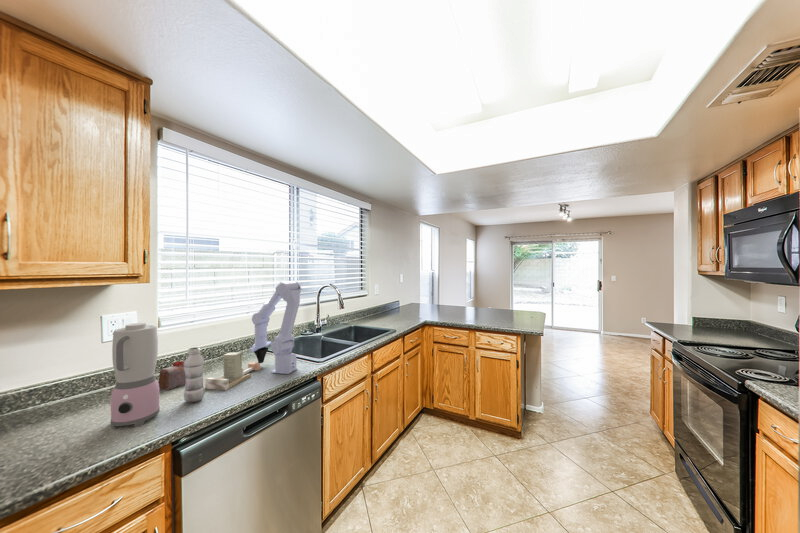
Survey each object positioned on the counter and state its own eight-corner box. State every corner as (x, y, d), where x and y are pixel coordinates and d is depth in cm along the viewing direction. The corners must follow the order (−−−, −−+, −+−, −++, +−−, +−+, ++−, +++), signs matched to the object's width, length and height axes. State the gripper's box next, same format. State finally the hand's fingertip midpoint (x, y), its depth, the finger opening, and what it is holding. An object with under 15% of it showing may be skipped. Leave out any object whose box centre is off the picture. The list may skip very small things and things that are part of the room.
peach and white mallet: (260, 368, 147) (260, 360, 147) (244, 377, 136) (244, 368, 136) (251, 368, 148) (251, 360, 148) (234, 376, 137) (234, 367, 137)
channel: (251, 376, 137) (251, 368, 137) (225, 390, 122) (225, 380, 122) (232, 375, 139) (232, 366, 139) (205, 388, 124) (205, 378, 124)
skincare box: (242, 378, 135) (242, 352, 135) (236, 382, 130) (236, 355, 130) (229, 378, 135) (229, 351, 135) (222, 382, 131) (222, 354, 131)
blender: (125, 413, 103) (125, 322, 103) (166, 408, 106) (166, 320, 106) (92, 438, 88) (92, 331, 88) (142, 432, 91) (141, 328, 91)
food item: (188, 377, 137) (188, 356, 137) (201, 379, 135) (201, 357, 135) (156, 389, 124) (156, 365, 124) (170, 391, 122) (170, 367, 122)
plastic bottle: (194, 405, 109) (194, 351, 109) (179, 403, 110) (178, 350, 110) (208, 398, 115) (208, 346, 115) (194, 396, 116) (194, 345, 116)
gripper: (263, 332, 159) (263, 357, 159) (243, 339, 145) (244, 366, 145) (274, 333, 158) (275, 358, 158) (256, 339, 144) (256, 367, 144)
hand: (261, 362), depth 151 cm, fingers closed
